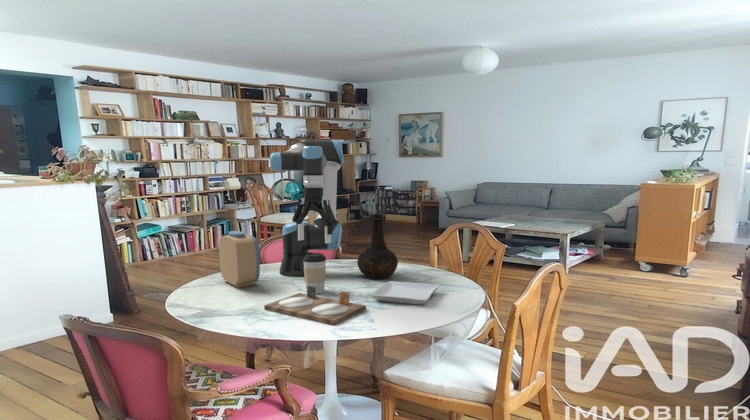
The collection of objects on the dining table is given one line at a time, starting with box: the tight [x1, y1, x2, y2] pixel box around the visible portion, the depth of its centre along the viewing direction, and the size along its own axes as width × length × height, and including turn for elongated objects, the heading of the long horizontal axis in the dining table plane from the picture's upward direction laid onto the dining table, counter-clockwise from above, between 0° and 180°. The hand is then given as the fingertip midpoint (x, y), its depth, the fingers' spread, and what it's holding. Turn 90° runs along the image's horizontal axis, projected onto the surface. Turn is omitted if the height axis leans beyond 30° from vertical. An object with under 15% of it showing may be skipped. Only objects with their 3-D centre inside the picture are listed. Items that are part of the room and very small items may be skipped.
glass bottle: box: [357, 213, 399, 280], centre depth 207 cm, size 18×18×28 cm
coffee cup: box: [303, 251, 327, 294], centre depth 184 cm, size 9×9×15 cm
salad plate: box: [370, 280, 440, 305], centre depth 176 cm, size 21×21×3 cm
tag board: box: [263, 286, 367, 326], centre depth 161 cm, size 30×18×6 cm, turn 57°
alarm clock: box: [218, 230, 261, 288], centre depth 197 cm, size 21×10×22 cm, turn 37°
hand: (314, 241), depth 183 cm, fingers open, 13 cm apart
